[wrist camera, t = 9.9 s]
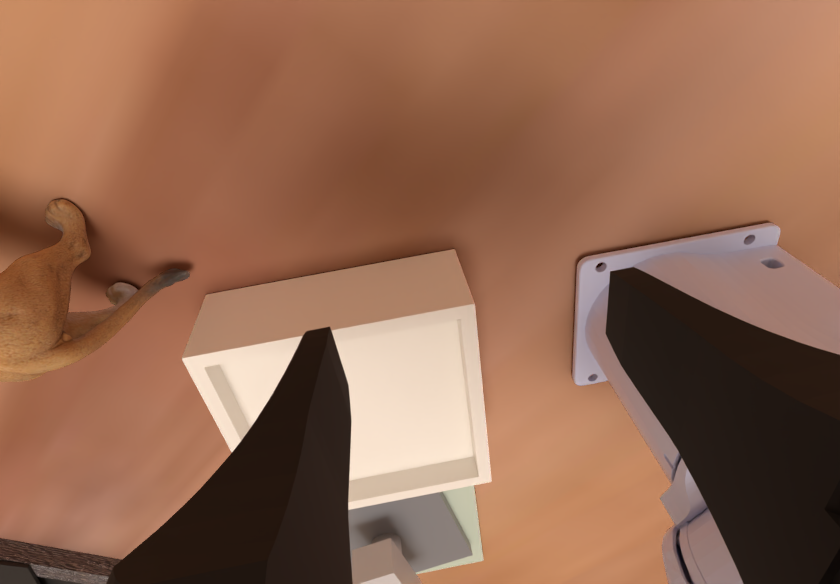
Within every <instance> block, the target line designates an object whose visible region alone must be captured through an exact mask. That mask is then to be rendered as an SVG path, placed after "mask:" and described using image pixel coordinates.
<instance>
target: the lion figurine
mask: <svg viewBox="0 0 840 584" xmlns="http://www.w3.org/2000/svg"><path fill="white" fill-rule="evenodd" d="M45 221H46V222H47V224H49V225H50V226H52V227H54V228H56V229H58V230H60V231H62V232H63V236H62V238H61V240H60V241H59V242H58V243H57V244H55V245H53V246H51V247H48V248H45V249H43V250H40V251H38V252H35V253H32V254H28V255H25V256H23V257H20V258H19V259H17V260H15V261H14V262H13V263H12V264H11V265H10V266H9V267H8V268H7V269H6V270H5V271H3V272H2V273H1V274H0V382H20V381H29V380H33V379H36V378H38V377H39V376H41V375H43V374H44V373H46V372H48V371H53V370H56V369H59V368H63V367H65V366H68V365H70V364H72V363H75V362H77V361H79V360H81V359H82V358H84V357H86V356H87V355H89V354H91V353H93V352H94V351H96V350H97V349H98V348H100V347H101V346H102V345H104V344H105V343H106V342H107V341H109V340H110V339H111V338H112V337H113V336H114V335H115V334H116V333H117V332H118V331H119V330H120V329H121V328H122V327H123V326H124V325H125V324H126V323H127V322H128V321H129V320H130V319H131V318H132V317H133V316H134V315H135V314H136V312H137V311H138V310H139V309H140V308H141V307H142V305H143V304H144V303H145V302H146V301H147V300H149V299H150V298H151V297H152V296H154V295H155V294H156V293H157V292H159V291H160V290H161V289H163V288H165V287H168V286H171V285H173V284H174V283H175V282H178V281H183V280H185V279H187V278H188V277H189V276H190V272H189V271H185V270H180V269H176V268H174V269H169V270H167V271H165V272H162V273H160V274H159V275H158V276H156V277H155V278H153V279H152V280H150V281H148V282H147V283H146V284H145V285H144V286H143V287H142V288H141V289H140V290H139V291H138V290H137V289H136V288H135V287H133V286H131V285H129V284H126V283H121V282H119V283H115V284H114V285H113V286H111V287H110V288H108V289H107V291H106V296H107V297H108V298H109V300H110V302H111V303H112V304H114V305H115V306H113V307H110V308H107V309H104V310H99V311H93V312H68V309H69V301H70V291H71V279H72V273H73V271H74V269H75V268H76V267H77V266H78V265H79V264H81V263H82V262H84V261H86V260H87V259H88V258H89V257H90V255H91V249H90V245H89V242H88V239H87V234H86V226H85V219H84V217H83V215H82V213H81V211H80V210H79V209H78V208H77V207H76V206H75V205H74V204H72V203H71V202H69V201H67V200H64V199H58V200H53V201H51V202H50V203H49V205H48V206H47V208H46V211H45Z"/></svg>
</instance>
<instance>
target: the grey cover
mask: <svg viewBox="0 0 840 584" xmlns="http://www.w3.org/2000/svg"><path fill="white" fill-rule="evenodd" d="M348 520H349V537H350V554H351V568H352V582H353V584H422V582H421V580H420V579H419V578H418V576H417V575H416V572H420V571H423V570H426V569H429V568H433V567H436V566H439V565H442V564H446V563H449V562H452V561H455V560H459V559H462V558H465V557H468V556H472V555H473V554H472V549H471V544H470V542H469V540H468V538H467V536H466V535H465V533H464V531H463V529H462V527H461V525H460V523H459V522H458V520H457V518H456V516H455V514H454V512H453V510H452V509H451V507H450V505H449V503H448V501H447V499H446V497H445V496H444V494H443V492H437V493H432V494H427V495H422V496H417V497H412V498H407V499H402V500H396V501H391V502H386V503H381V504H376V505H371V506H366V507H361V508H356V509H351V510H348Z"/></svg>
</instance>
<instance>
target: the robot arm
mask: <svg viewBox="0 0 840 584" xmlns="http://www.w3.org/2000/svg"><path fill="white" fill-rule="evenodd" d="M780 232H781V230H780V228H779V227H778V226H777V225H775V224H773V223H764V224H759V225H753V226H748V227H743V228H737V229H732V230H726V231H721V232H716V233H710V234H705V235H700V236H694V237H689V238H683V239H678V240H673V241H667V242H662V243H656V244H651V245H646V246H640V247H635V248H629V249H624V250H619V251H613V252H608V253H602V254H597V255H592V256H587V257H584V258H583V259H581V260H580V261H579V263H578V265H577V277H576V300H575V324H574V347H573V370H572V378H573V381H574V382H575V384H576V385H579V386H583V385H589V384H594V383H599V382H604V381H609V383H610V384H611V386H612V388H613V389H614V391H615V393H616V394H617V396H618V397H619V399H620V401H621V402H622V404H623V406H624V407H625V409H626V411H627V412H628V414H629V415H630V417H631V419H632V420H633V422H634V424H635V425H636V427H637V429H638V430H639V432H640V434H641V435H642V437H643V438H644V440H645V442H646V443H647V445H648V447H649V448H650V450H651V452H652V453H653V455H654V456H655V458H656V460H657V461H658V463H659V465H660V466H661V468H662V470H663V471H664V473H665V475H666V476H667V478H668V479H669V481H670V483H671V484H672V485H671V486H670V487H669V489H668V490H667V491H666V492H665V493H664V494H662V495H661V497H660V499H661V501H662V503H663V505H664V506H665V508H666V510H667V512H668V513H669V515H670V517H671V518H672V520H673V522H674V525H673V526H672V527H670V528H669V529H668V530H667V531H666V533H665V535H664V537H663V542H662V553H663V561H664V565H665V570H666V576H667V580H668V584H840V288H838V287H837V286H835V285H834V284H832V283H831V282H830V281H828V280H827V279H825V278H824V277H822V276H821V275H819V274H818V273H817V272H815V271H814V270H812V269H811V268H809V267H808V266H807V265H805V264H804V263H802V262H801V261H799V260H798V259H796V258H795V257H794V256H792V255H791V254H789V253H788V252H786V251H785V250H783V249H782V248H781V247H779V246H778V245H777V243H778V240H779V236H780ZM747 236H749V237H748V238H747V239H746V240H745V238H746V237H747ZM601 262H603V264H602V265H601V266H600V267H598V268H596V266H597V265H598V264H599V263H601ZM592 374H593V375H592ZM590 375H592V376H590ZM350 448H351V408H350V396H349V385H348V382H347V378H346V375H345V372H344V369H343V366H342V363H341V359H340V356H339V353H338V350H337V347H336V344H335V340H334V337H333V334H332V331H331V328H330V327H325V328H320V329H315V330H310V331H306V332H305V334H304V335H303V337H302V339H301V341H300V343H299V345H298V347H297V349H296V351H295V353H294V355H293V357H292V359H291V361H290V363H289V365H288V367H287V369H286V371H285V372H284V374H283V376H282V378H281V380H280V381H279V383H278V385H277V387H276V389H275V390H274V392H273V394H272V395H271V397H270V399H269V400H268V402H267V403H266V405H265V407H264V408H263V410H262V411H261V413H260V414H259V416H258V418H257V419H256V421H255V422H254V424H253V425H252V426H251V428H250V429H249V431H248V432H247V434H246V435H245V436H244V438H243V439H242V440H241V442H240V443H239V444H238V446H237V447H236V448H235V449H234V451H233V452H232V453H231V455H230V456H229V457H228V458H227V459H226V461H225V462H224V463H223V464H222V465H221V466H220V467H219V469H218V470H217V471H216V472H215V473H214V474H213V475H212V476H211V478H210V479H209V480H208V481H207V482H206V483H205V484H204V485H203V486H202V488H201V489H200V490H199V491H198V492H197V493H196V494H195V495H194V496H193V497H192V498H191V499H190V500H189V501H188V502H187V503H186V504H185V505H184V506H183V507H182V508H181V509H180V510H179V511H177V512H176V513H175V514H174V515H173V516H172V517H171V518H170V519H169V520H168V521H167V522H166V523H165V524H164V525H162V526H161V527H160V528H159V529H158V530H157V531H156V532H155V533H153V534H152V535H151V536H150V537H149V538H148V539H146V540H145V541H144V542H143V543H142V544H140V545H139V546H138V547H137V548H136V549H134V550H133V551H132V552H131V553H130V554H129V555H127V556H126V557H125V558H124V559H123V560H121V561H120V562H119V563H118V564H116V565H115V566H114V567H113V569H112V571H111V574H110V576H109V578H108V580H107V583H106V584H353V582H352V568H351V554H350V537H349V520H348V496H349V472H350Z"/></svg>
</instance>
